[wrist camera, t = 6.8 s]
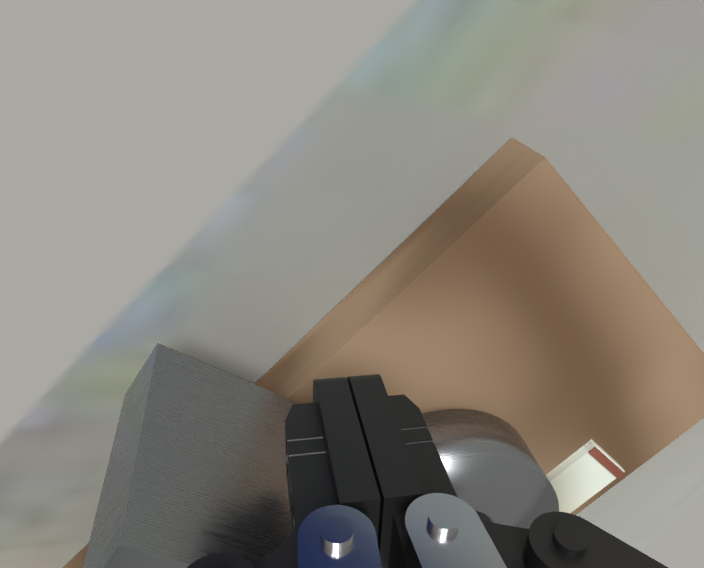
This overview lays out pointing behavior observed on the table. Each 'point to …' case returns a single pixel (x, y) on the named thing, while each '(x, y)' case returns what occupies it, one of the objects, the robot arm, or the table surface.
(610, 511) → the table surface
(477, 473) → the lever
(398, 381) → the stand
